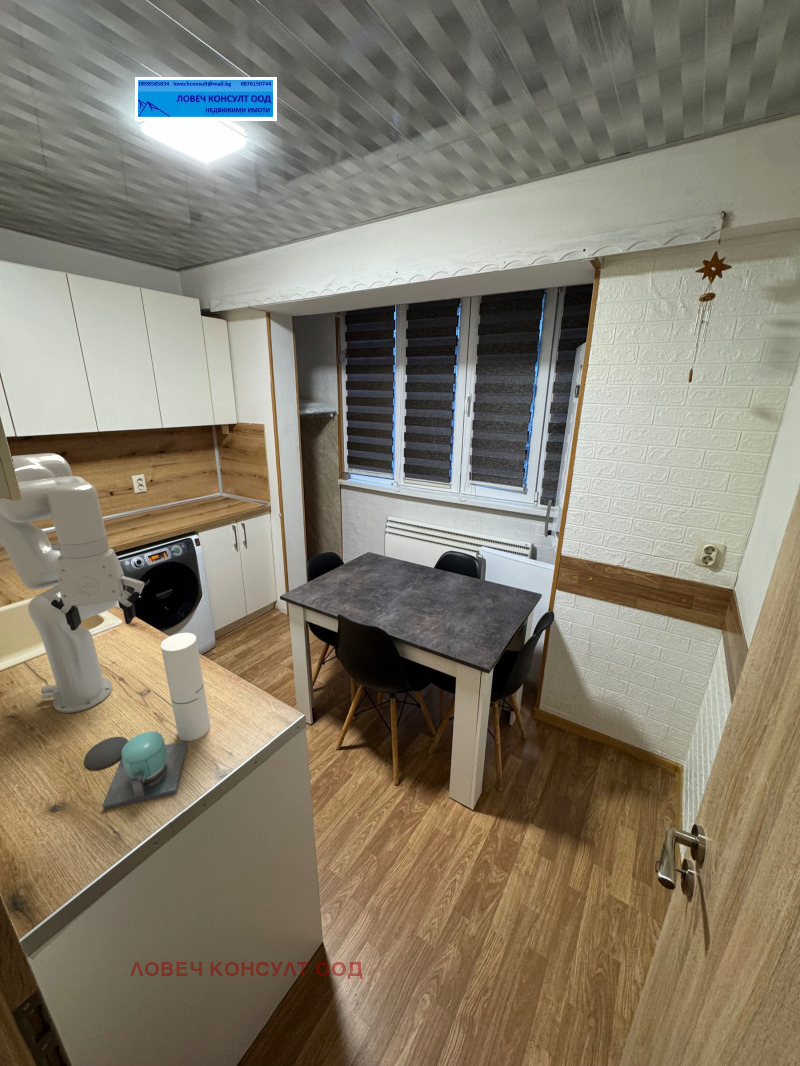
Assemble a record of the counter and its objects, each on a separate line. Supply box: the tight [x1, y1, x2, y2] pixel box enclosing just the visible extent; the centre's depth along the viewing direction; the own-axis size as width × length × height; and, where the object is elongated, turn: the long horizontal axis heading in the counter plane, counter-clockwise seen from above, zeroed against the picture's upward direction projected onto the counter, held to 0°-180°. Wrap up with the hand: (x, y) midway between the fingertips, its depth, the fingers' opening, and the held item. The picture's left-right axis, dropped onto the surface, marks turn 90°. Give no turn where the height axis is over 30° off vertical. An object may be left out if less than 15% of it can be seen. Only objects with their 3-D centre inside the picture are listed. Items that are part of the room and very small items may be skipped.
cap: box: [122, 731, 167, 782], centre depth 88 cm, size 10×7×5 cm
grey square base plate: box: [102, 731, 189, 811], centre depth 89 cm, size 13×13×7 cm
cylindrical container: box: [160, 632, 211, 742], centre depth 98 cm, size 7×7×25 cm
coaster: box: [84, 736, 129, 770], centre depth 94 cm, size 8×8×1 cm
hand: (103, 623), depth 87 cm, fingers open, 9 cm apart
